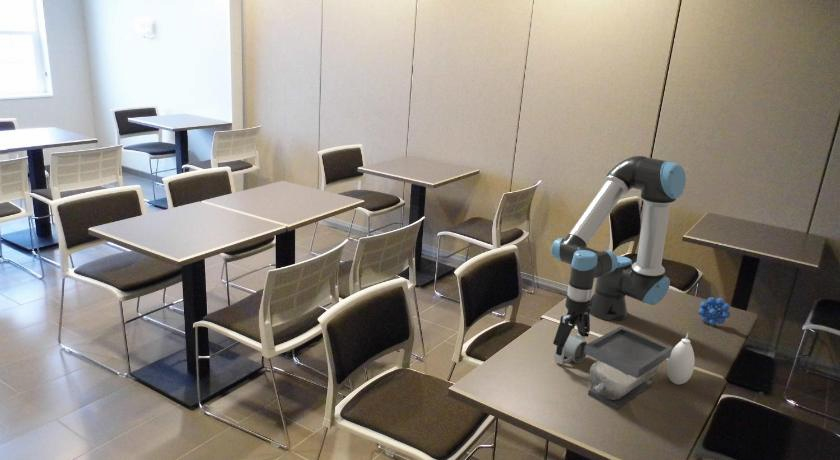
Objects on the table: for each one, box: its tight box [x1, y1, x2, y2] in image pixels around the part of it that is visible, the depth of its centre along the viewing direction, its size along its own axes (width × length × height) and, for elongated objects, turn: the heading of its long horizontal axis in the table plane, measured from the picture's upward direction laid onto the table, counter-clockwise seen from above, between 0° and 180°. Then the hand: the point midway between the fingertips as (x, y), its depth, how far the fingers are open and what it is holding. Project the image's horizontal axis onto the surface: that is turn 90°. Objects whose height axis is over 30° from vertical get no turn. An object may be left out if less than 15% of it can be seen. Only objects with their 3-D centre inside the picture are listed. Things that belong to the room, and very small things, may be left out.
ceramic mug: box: [554, 334, 588, 365], centre depth 202 cm, size 11×8×8 cm
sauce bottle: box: [666, 332, 696, 385], centre depth 190 cm, size 8×8×18 cm
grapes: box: [697, 296, 731, 326], centre depth 234 cm, size 12×7×12 cm, turn 43°
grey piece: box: [584, 326, 673, 411], centre depth 185 cm, size 21×17×15 cm
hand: (568, 357), depth 203 cm, fingers closed on ceramic mug, 11 cm apart
